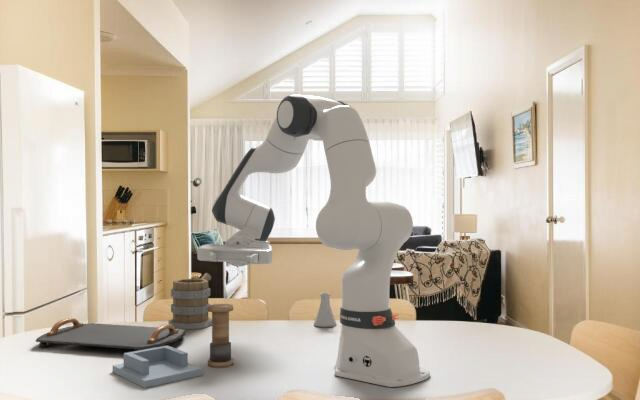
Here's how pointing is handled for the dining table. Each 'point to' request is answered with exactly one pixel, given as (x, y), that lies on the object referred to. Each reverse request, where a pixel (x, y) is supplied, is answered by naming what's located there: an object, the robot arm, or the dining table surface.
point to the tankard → (190, 303)
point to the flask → (325, 313)
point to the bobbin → (220, 336)
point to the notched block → (156, 366)
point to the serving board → (111, 335)
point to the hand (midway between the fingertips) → (231, 259)
